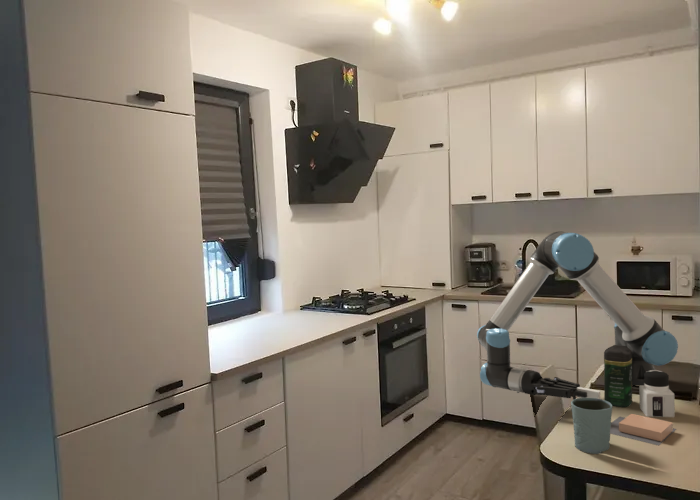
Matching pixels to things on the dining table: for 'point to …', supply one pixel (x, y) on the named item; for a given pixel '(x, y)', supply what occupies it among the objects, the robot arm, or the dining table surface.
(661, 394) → the container
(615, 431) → the mat
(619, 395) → the coffee jar
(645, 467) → the dining table surface
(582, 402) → the teal planter pot
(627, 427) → the salmon orange rectangular block
